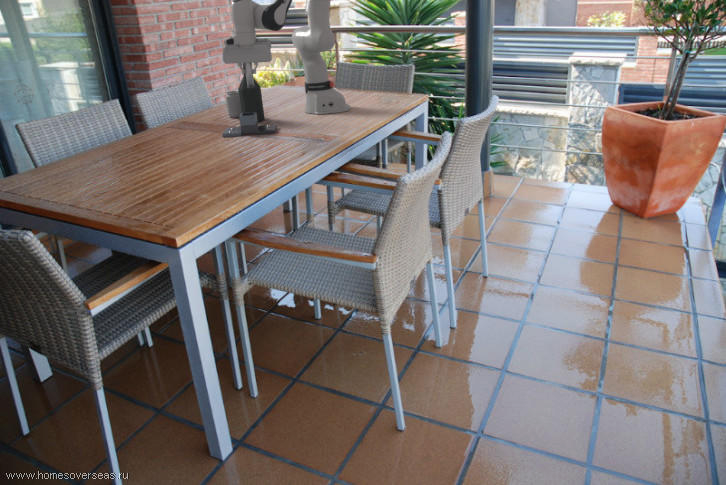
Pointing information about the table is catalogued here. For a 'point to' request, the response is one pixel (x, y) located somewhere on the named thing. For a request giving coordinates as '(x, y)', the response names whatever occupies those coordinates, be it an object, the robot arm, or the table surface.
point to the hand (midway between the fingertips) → (249, 73)
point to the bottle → (251, 98)
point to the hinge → (249, 126)
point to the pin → (249, 75)
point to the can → (233, 104)
